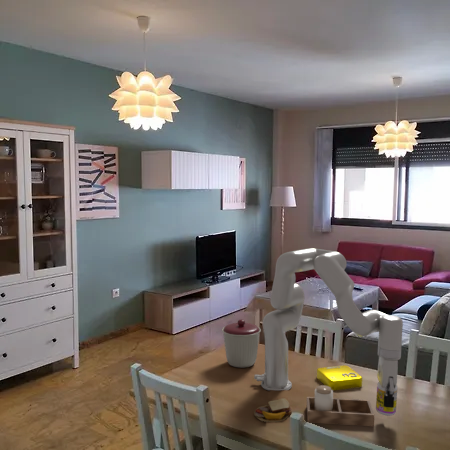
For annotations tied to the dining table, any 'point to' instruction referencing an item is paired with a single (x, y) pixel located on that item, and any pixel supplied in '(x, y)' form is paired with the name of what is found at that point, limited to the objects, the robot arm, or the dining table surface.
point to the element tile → (339, 377)
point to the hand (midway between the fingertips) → (386, 401)
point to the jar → (323, 398)
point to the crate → (342, 412)
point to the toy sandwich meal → (274, 411)
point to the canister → (241, 343)
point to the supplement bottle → (380, 401)
